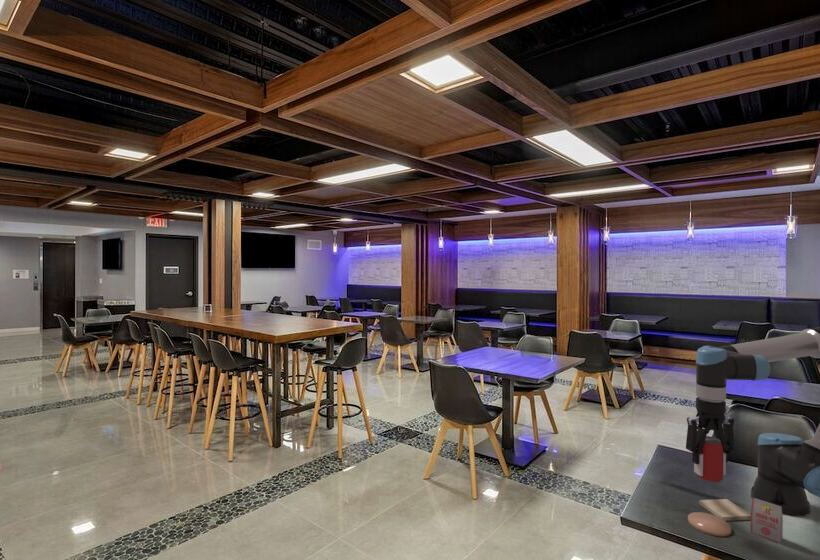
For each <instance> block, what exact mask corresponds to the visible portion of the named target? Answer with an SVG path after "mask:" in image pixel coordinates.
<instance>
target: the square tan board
mask: <svg viewBox="0 0 820 560" xmlns="http://www.w3.org/2000/svg"><path fill="white" fill-rule="evenodd" d="M698 504H699V505H700V506H701V507H703V508H704V509H705V510H707V512H709V513H711V515H714V516H717V517H719V518H721V519H723V520H725V521H726V522H727V521H728V522H730V521H749V520H750V521H751V513H749V512H748V511H746V510H744V508H742V507H740V506H738V505H737V504H735V503H734V502H732V501H731V500H729V499H728V498H719V499H699V500H698Z"/></svg>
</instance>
